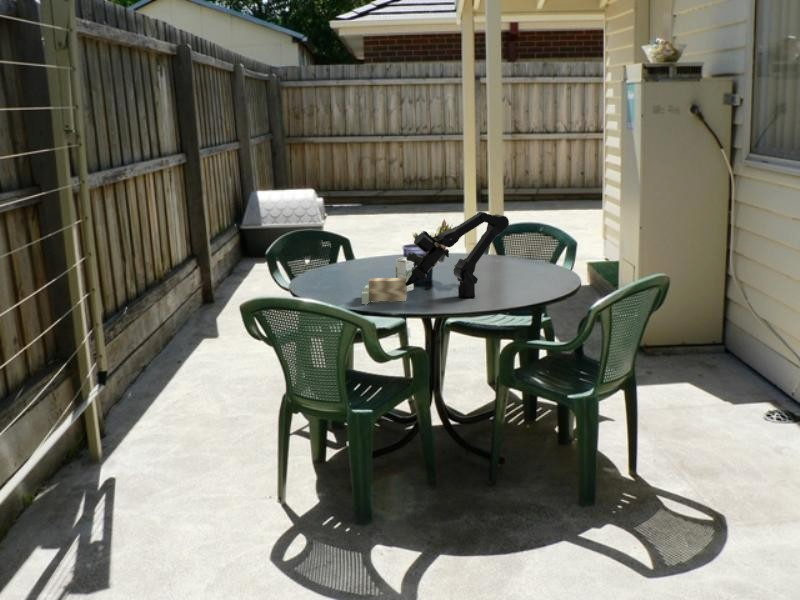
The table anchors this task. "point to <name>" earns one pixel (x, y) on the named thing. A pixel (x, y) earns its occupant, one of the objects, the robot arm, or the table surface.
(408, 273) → the syrup box
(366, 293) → the sage batten
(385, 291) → the beech block
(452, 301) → the table surface
